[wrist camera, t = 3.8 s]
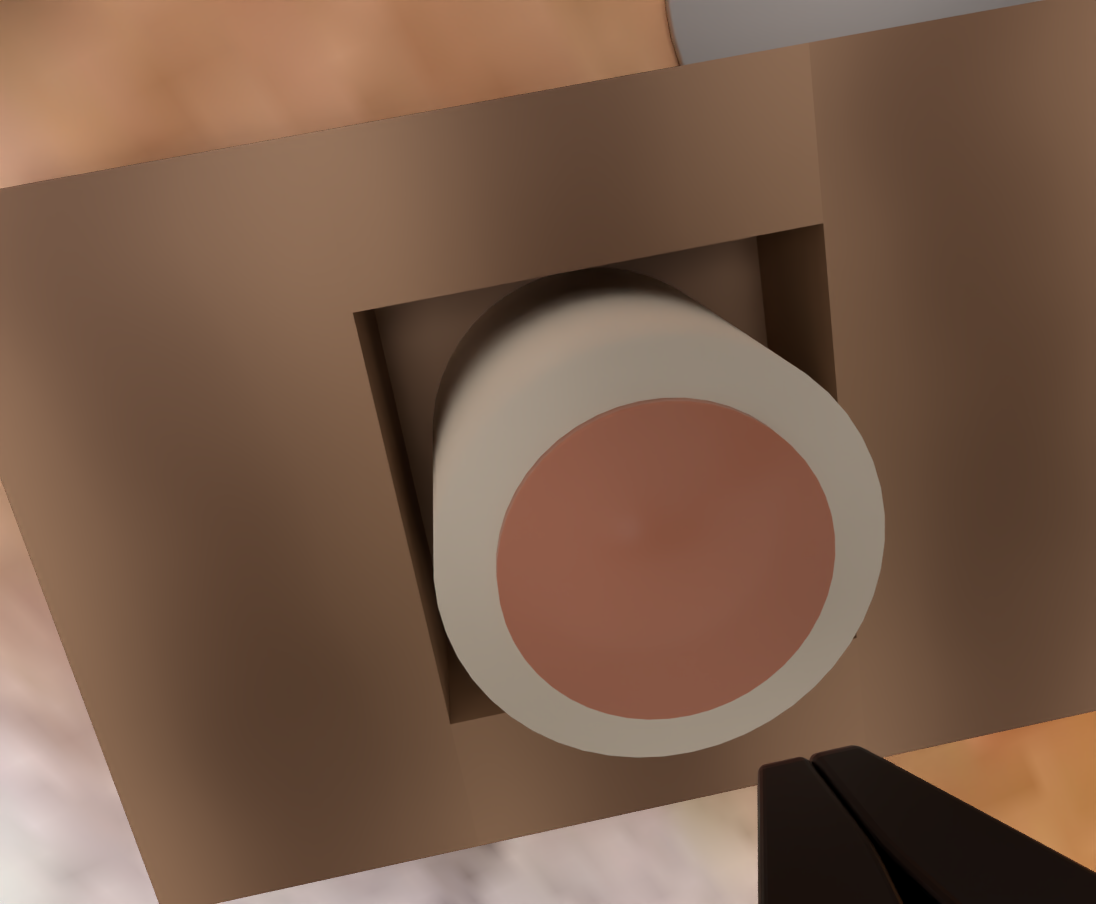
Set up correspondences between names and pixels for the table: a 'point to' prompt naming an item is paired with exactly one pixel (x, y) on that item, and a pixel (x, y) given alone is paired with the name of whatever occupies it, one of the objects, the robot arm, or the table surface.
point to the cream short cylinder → (644, 517)
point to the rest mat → (795, 22)
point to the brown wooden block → (409, 398)
